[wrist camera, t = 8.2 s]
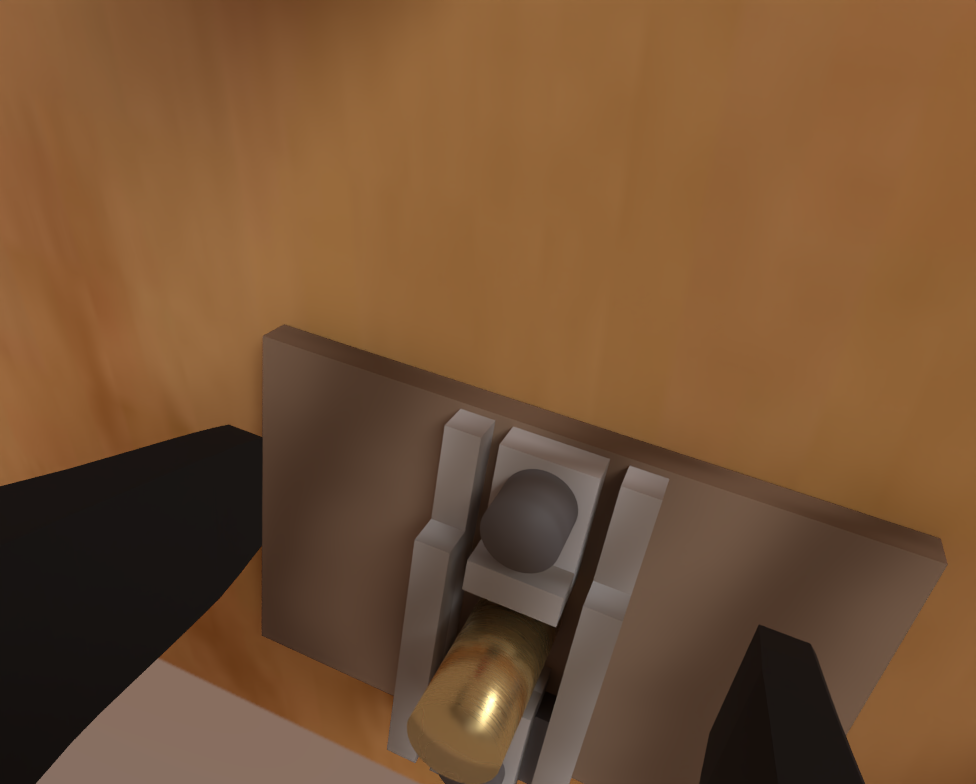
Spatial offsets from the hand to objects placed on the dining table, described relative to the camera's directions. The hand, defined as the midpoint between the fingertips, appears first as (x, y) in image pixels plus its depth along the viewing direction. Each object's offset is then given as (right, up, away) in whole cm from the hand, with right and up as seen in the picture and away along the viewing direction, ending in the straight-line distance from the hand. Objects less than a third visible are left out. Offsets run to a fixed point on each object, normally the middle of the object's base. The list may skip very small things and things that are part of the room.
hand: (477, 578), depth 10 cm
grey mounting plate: (+2, -3, +12) cm, 13 cm away
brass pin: (+1, -4, +11) cm, 12 cm away
